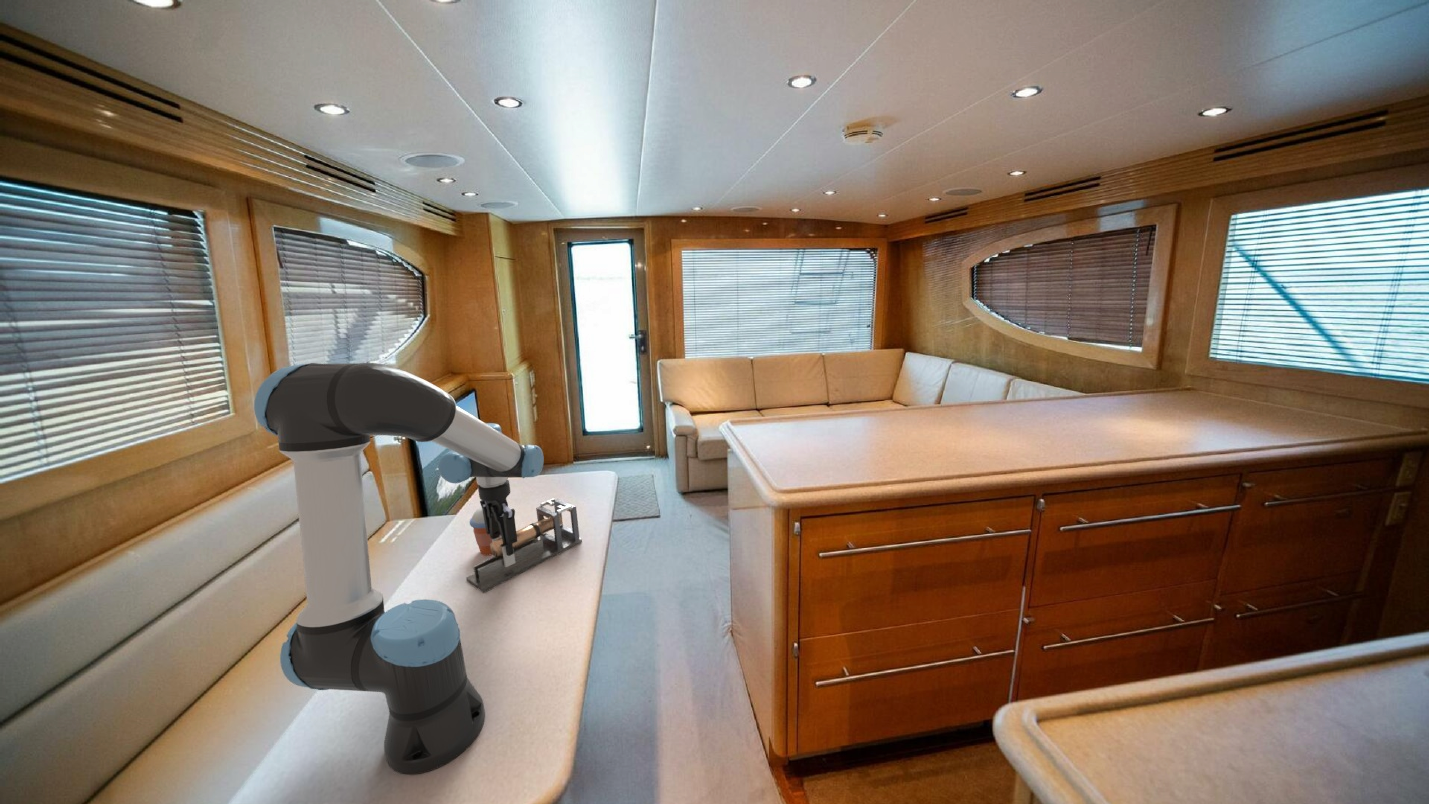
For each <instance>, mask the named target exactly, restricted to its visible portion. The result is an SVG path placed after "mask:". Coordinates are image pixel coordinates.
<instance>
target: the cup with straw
mask: <svg viewBox="0 0 1429 804" xmlns="http://www.w3.org/2000/svg"><path fill="white" fill-rule="evenodd" d="M469 525H470V527H471V528H473V534H474V538H475V542H476V545H477V546H478V548H479V552H480V555H482V556H492V555H493V554H492V552H491V549H490V544H491V543H492V540H493V539H491V537H490V534H489V535H488V534H487V533H486V527H485V522H484V516H483V510H482V507H479V508H477V509H476V510H475V511H474V513H473V515H472V516H471V518H470V519H469ZM489 529H490V528H489ZM499 536H501V535H499ZM493 556H494V555H493Z"/></svg>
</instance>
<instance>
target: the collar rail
mask: <svg viewBox="0 0 1429 804" xmlns="http://www.w3.org/2000/svg"><path fill="white" fill-rule="evenodd" d="M539 505H540V506H538V507H536V508H535V512H536V517H537V518H536V519H537V521H540V520H542V519H544V518H546V517H547V518H550V519H552V520H553V527H554V529H553V533H554V534H553V535H550V534H549V533H548V532H547V533H545V534H543V535H540V536H539V537H538V538H536V539H532V540H530V541H528V542H526V543H524V544H522V545H520V546H518V547H516V548H514V556H515V563H514V564H512V565H510V566H508V567H505V566H504V559H503V554H502V555H500V556H498V557H495V556H494V555H493V556H492V557H490V558H488V559H486V560H484V561H481V562H479V563H478V564H476V565H473V567H472V568H473V572H474V573H472V574H471V575H468V576H466V577H465V578H466V582H468V583H469V584H471V585H472V586H473V587H474V588H476V590H477V589H478V590H479V591H480V592H481V593H484V594H485V593H486V592H488V591H490V590H492V589H494V588H496V587H498V586H500V585H501V584H504V583H505V582H508V581H510V580H511V579H513V578H516V577H517V576H519V575H521V574H523V573H525V572H527V571H529V570H531V569H533V568H534V567H536V566H538V565H540V564H542V563H544V562H546V561H548V560H550V559H551V558H553V557H555V556H557V555H560V554H562V553H563V552H565V551H567V550H569V549H571V548H572V547H576V545H579V544H580V543H582V542H583V539H582V538H581V537H580V530H579V522H578V512H577V506H576V505H574V504H572V503H569V502H566V501H565V500H562V499H559V498H556V499H555V497H554V498H550V499H547V500H545V501H543V502H541V503H539ZM544 506H550V507H553V506H554V510H551V509H548V508H546V507H544ZM566 511H567V512H570V513H569V514H570V522H571V528H570V527H568V526H566V525H564V523H563V521H562V525H561V526H560V521H559V515H560V516H561V518H562V519H563V515H562V513H564V512H566Z"/></svg>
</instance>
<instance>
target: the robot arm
mask: <svg viewBox="0 0 1429 804" xmlns="http://www.w3.org/2000/svg"><path fill="white" fill-rule="evenodd" d="M253 401H254V402H253V410H254V411H253V412H254V415H255V417H256V420H257V422H258V424H259V425H260V427H264V430H265V431H266V432H268V433H269V434H271V435H273V436H276V437H277V439H278V451H279V453H280V454H282V455H283V456H286V457H287V458H289V459H290V460H291V461H292V462H293V471H294V481H295V489H296V491H295V492H296V501H297V511H298V520H299V532H300V542H301V543H300V544H301V552H302V553H301V554H302V562H303V573H304V584H305V595H306V603H307V604H306V605H305V606H304V607H303V608H302V610H301V611H299V613H298V614H297V616H296V622H295V623H294V624H293V625H292V626H291V628H290V629H289V630H288V631H287V634H286V637H287V640H286V641H284V642H282V645H281V648H280V655H279V656H280V657H279V658H280V659H279V663H280V668H281V670H282V673H283V675H284V677H285V678H286V679H287V680H288V681H289V682H291V683H292V684H294V685H295V686H297V687H301V688H308V689H311V690H317V691H328V690H338V691H351V692H352V691H355V692H373V693H374V692H376V693H382V694H384V695H385V699H386V703H387V708H388V713H389V714H388V720H387V725H386V729H385V730H386V731H385V736H384V741H383V750H384V755H385V758H386V759H385V760H386V762H387V764H388V766H389V767H390V768H391V769H392V770H394V771H395V772H397V773H399V774H405V775H418V774H422V773H423V774H424V773H427V772H431V771H433V770H435V769H438V768H440V767H442V766H444V765H446V764H448V763H449V762H451V761H453V760H454V759H456V758H457V757H458V756H460V755H461V754H462V753H463V752H465V751H466V748H467V749H468V748H469V747H470V746H471V745H472V743H474V741H475V740H476V739H477V737H478V736H479V734H480V732H481V730H482V728H483V727H484V725H485V724H484V723H485V719H486V712H485V705H484V700H483V698H482V696H481V694H480V693H479V692H478V690H477V689H476V688H475V686H474V685H473V683H471V681H470V680H469V678H468V676H467V669H466V664H465V659H464V658H465V657H464V653H463V647H462V640H461V630H460V627H459V623H458V622H457V619H456V616H455V613H454V611H453V610H452V608H451V607H450V606H449V605H447V604H446V603H444V602H443V601H439V600H434V599H417V600H416V599H415V600H412V601H411V602H410V603H406V602H403V603H401V604H398V605H395V606H394V607H392V608H390V609H388V610H387V611H385V604H384V603H385V602H384V594H383V593H382V592H381V591H379V590H377V589H375V588H373V587H372V577H371V565H370V555H369V554H370V553H369V552H370V551H369V544H368V543H369V542H368V541H369V540H368V529H367V519H366V518H367V517H366V506H365V505H366V504H365V493H364V483H363V482H364V481H363V470H362V460H361V459H362V458H361V454H362V452H363V451H364V449H366V448H367V447H368V446H369V445H370V444H371V436H388V437H389V436H390V437H403V438H408V439H411V440H412V441H415V442H418V443H429V442H432V443H433V444H434V443H435V444H436V445H439V446H441V447H443V448H445V449H448V450H449V451H447V452H446V453H444V454H443V455H442V456H441V457H440V458H439V460H438V463H437V469H438V472H439V476H440V477H442V479H444V481H445V482H447V483H450V484H461V483H463V482H466V481H467V480H469V479H470V478H475V479H476V484H477V490H478V495H479V496H478V497H479V499H480V500H479V504H480V506H481V507H482V510H483V516H484V522H485V527H486V533H487V534H488V535H489V534H490V537H491V539H493V540H492V542H494V541H496V540H499V539H501V538H502V541H503V544H501V547H502V553H503V559H504V566H505V567H508V566H510V565H512V564H514V563H515V556H514V549H513V543H515V542H517V534H516V531H517V527H516V520H515V515H516V510H515V508H511V509H510V507H509V503H508V501H507V498H508V497H509V496H510V494H511V487H510V486H511V485H510V480H509V478H521V479H525V478H535V477H537V476H539V475H540V474H541V472H542V470H543V468H544V462H545V461H544V458H545V457H544V453H543V450H542V448H541V447H540V445H539V446H538V445H533V444H520V443H518V442H516V441H515V440H513V439H512V438H510V437H509V436H507V435H505V434H504V433H503V432H502V427H501V425H499V424H498V423H493V422H492V423H491V422H488V423H487V422H484V421H482V420H480V419H479V418H477V417H476V416H474V415H473V414H471V413H469V412H468V411H466V410H464V409H462V408H461V407H459V406H457V402H456V401H455V399H454V397H453V396H452V395H451V394H450V393H448V392H447V391H445V390H443V389H442V388H440V387H438V386H437V385H435V384H433V383H432V382H430V381H428V380H425V379H424V378H421V377H419V376H417V375H416V374H413V373H410V372H408V371H406V370H403V369H402V368H401V369H400V368H398V367H394V366H392V365H391V366H390V365H388V364H383V363H375V362H359V363H355V362H354V363H347V362H346V363H345V362H344V363H317V362H316V363H315V362H311V363H302V364H294V365H289V366H284V367H281V368H279V369H277V370H276V371H273V372H272V373H271V374H270V375H268V377H267V378H266V379H265V380H263V381H262V382H261V384H260V386H259V387H258V389H257V391H256V393H255V397H254V400H253ZM481 507H480V508H481ZM489 528H490V529H489ZM499 535H501V536H499ZM455 757H456V758H455Z"/></svg>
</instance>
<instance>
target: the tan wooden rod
mask: <svg viewBox="0 0 1429 804" xmlns="http://www.w3.org/2000/svg"><path fill="white" fill-rule="evenodd" d="M559 521H560V526H561V525H562V522H563V517H562V518H561V516H560V515H559ZM552 530H553V531H554V527H553V520H552V519H550V518H547V517H544V519H542V520H540V521H538V520H537V521H535V522H532V523H530V524H528V525H527V526H525V527H522V528H521V529H518V530H516V534H517V542H515V543H513V549H514V548H516V547H518V546H520V545H522V544H524V543H526V542H528V541H530V540H532V539H536V538H538V539H539V538H540V535H543V534H545V533H547V534H548V532H550V531H552ZM501 544H503V541H502V538H501V539H499V540H496V541H494V542H492V543H491V544H490V549H491V552H492V554H493V557H494V556H495V557H498V556H500V555H502V554H503V553H502V547H501Z"/></svg>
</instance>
